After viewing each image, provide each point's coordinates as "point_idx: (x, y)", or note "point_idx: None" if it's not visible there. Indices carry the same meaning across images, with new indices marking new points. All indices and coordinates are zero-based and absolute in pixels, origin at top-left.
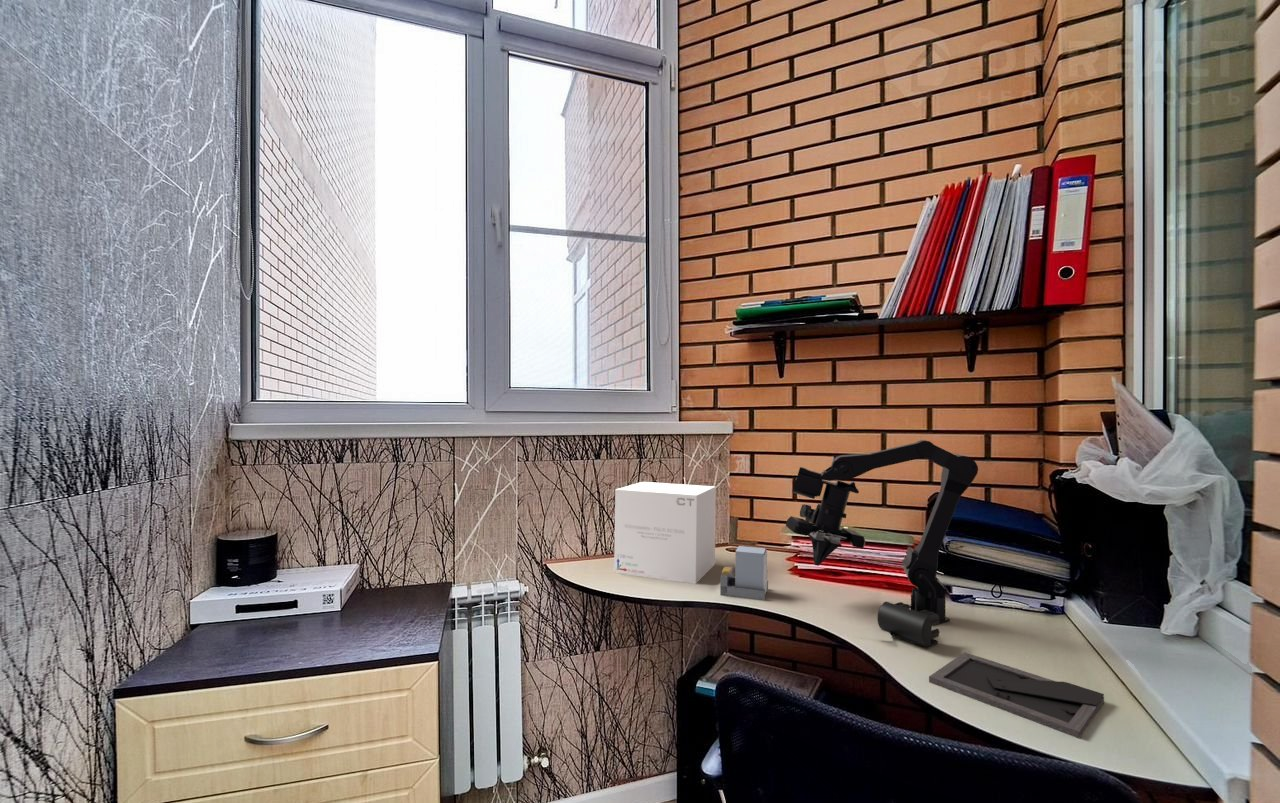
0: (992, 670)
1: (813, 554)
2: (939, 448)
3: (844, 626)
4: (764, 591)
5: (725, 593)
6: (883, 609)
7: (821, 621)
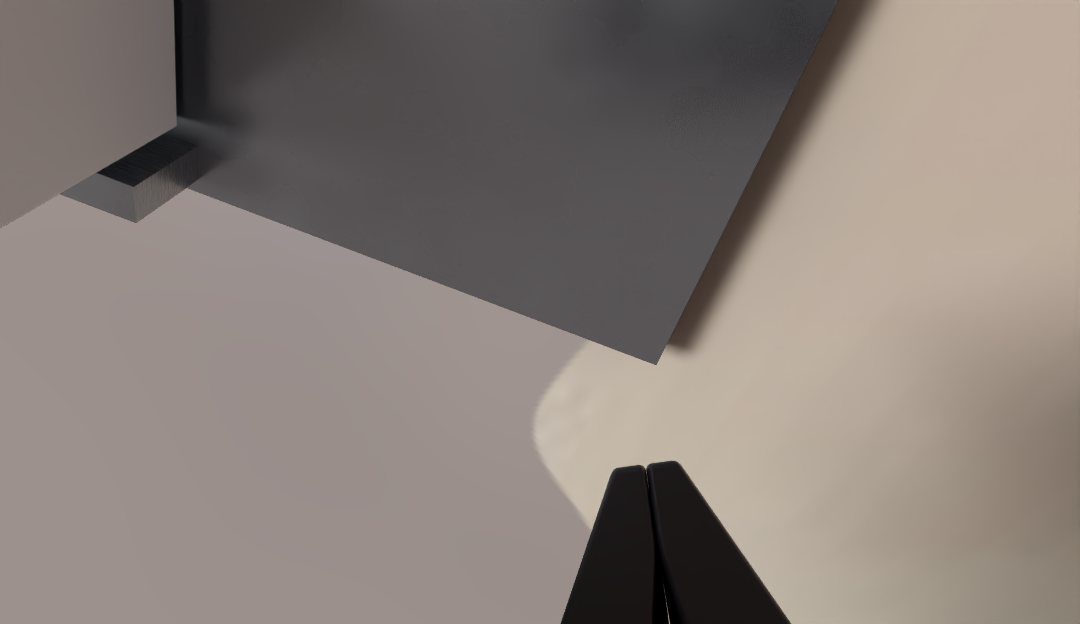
0: None
1: (565, 621)
2: None
3: None
4: (137, 221)
5: None
6: None
7: (605, 475)
